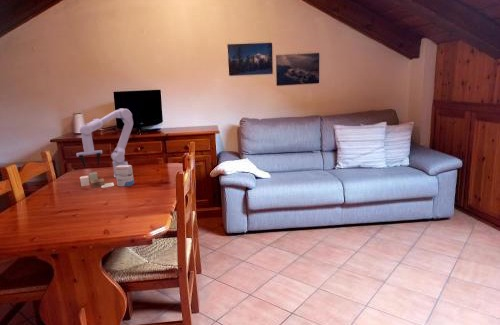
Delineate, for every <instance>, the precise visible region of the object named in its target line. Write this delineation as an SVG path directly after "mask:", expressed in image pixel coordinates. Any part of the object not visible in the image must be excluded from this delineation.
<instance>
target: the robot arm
mask: <svg viewBox="0 0 500 325" xmlns="http://www.w3.org/2000/svg"><path fill="white" fill-rule="evenodd" d="M113 119H121V120H122V123H123V124H124V125H123V127H122V130H121V134H120V137H119V140H118V142H117V145H116V147H115V148H114V150H113V151H112V152H111V154H110V158H111V160H112V168H113V177H114V178H115V179H116V172H115V167H116V166H119V165H129V163H128V161H127V160H126V161H125V155H126V147H127V144H128V141H129V139H130V136H131V132H132V129H133V126H134V119H133V113H132V112H131V111H130V110H129V108H123V107H122V108H118V109H115V110H113V111H112V112H110V113H108V114H106V115H105V116H103V117H101V118H93V119H92V120H91V121H90V122H86V123H85V124H83V125H81V126H80V128H79V133H80V134H81V142H82V146H83V151H80V152H76V157H78V158H79V160H80V161H81V163H82V165H83V167H84V168H86V163H85V158H84V156H90V155H91V156H92V155H96V160H97V161H96V162H97V166H100V158H101V156H102V154H103V150H102V149H100V150H99V149H98V150H95V146H94V141H93V136H92V133H93V132H95V131H97V130H98V129H100V128H103V125H104V124H106V123H107V122H109V121H111V120H113Z"/></svg>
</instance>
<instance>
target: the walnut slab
mask: <svg viewBox="0 0 500 325" xmlns="http://www.w3.org/2000/svg"><path fill="white" fill-rule="evenodd" d="M90 184H91V188H92V189H94V188H101V186H103V185H105V184H106V183H105V179H104V178H98V179H96V180H91V182H90Z"/></svg>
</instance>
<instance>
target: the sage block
mask: <svg viewBox="0 0 500 325" xmlns="http://www.w3.org/2000/svg"><path fill="white" fill-rule="evenodd" d="M88 177H89V183H91V180H96V179H99V178H98V172H97V171H93V172H89V173H88Z"/></svg>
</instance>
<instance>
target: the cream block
mask: <svg viewBox="0 0 500 325" xmlns="http://www.w3.org/2000/svg"><path fill="white" fill-rule="evenodd" d="M79 180H80V186H81V187H86V186H90V184H91V182H90V177H89V175H82V176H80V177H79Z"/></svg>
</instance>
